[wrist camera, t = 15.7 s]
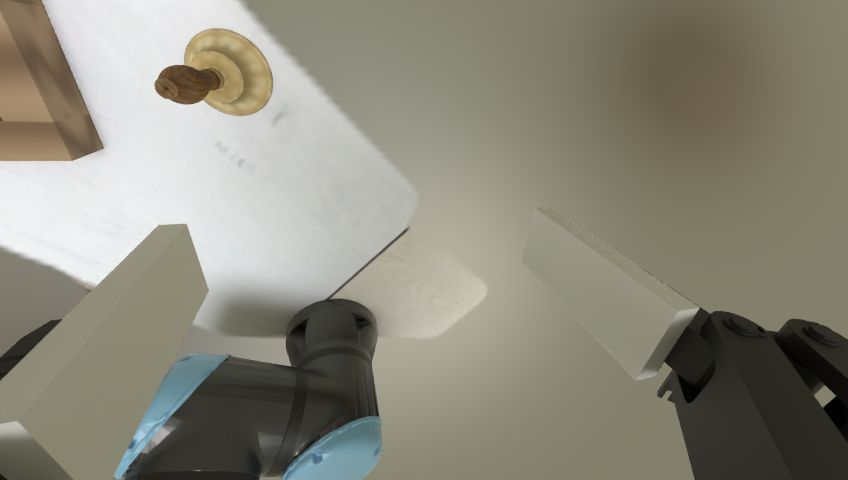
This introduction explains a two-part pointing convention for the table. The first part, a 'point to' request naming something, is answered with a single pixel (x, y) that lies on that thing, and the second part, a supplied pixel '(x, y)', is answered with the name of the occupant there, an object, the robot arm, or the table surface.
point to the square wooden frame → (39, 91)
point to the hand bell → (219, 74)
